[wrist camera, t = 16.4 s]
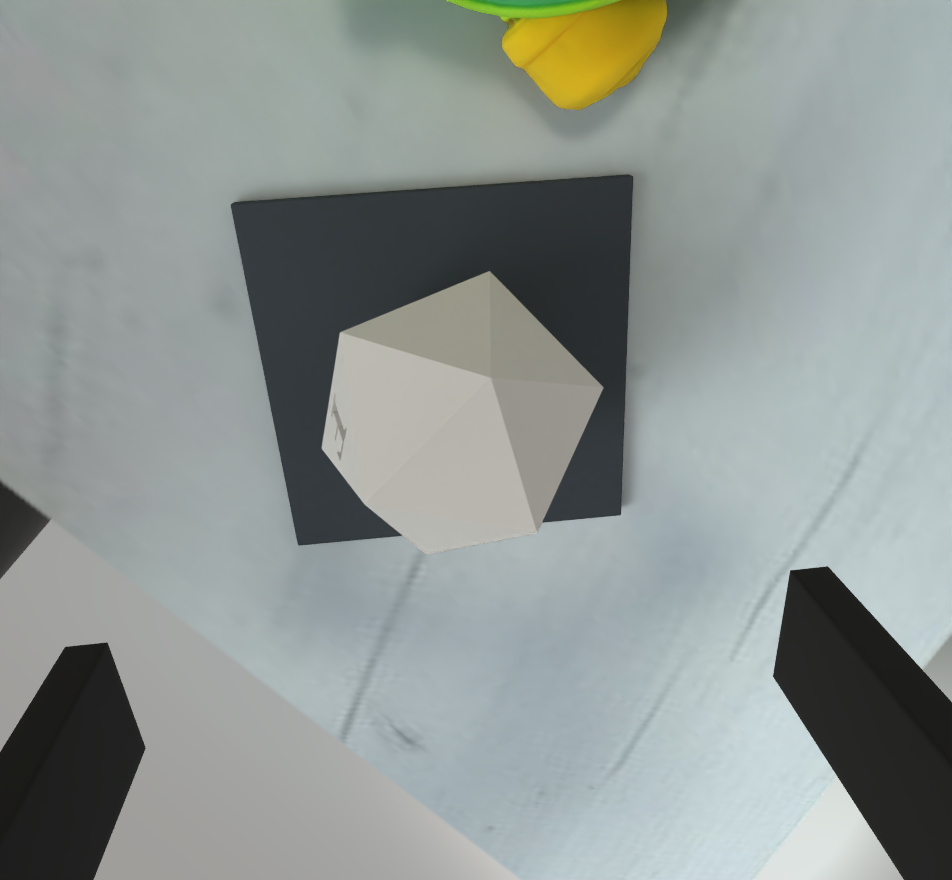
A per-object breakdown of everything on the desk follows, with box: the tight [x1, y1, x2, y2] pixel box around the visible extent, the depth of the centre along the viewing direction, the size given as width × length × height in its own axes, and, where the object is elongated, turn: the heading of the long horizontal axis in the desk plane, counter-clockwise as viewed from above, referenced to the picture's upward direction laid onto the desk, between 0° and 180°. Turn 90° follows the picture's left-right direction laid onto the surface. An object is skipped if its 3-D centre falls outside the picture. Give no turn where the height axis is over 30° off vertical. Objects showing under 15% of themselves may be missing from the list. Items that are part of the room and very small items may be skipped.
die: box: [322, 271, 603, 554], centre depth 24 cm, size 8×9×10 cm
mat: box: [231, 175, 633, 545], centre depth 28 cm, size 14×14×1 cm
